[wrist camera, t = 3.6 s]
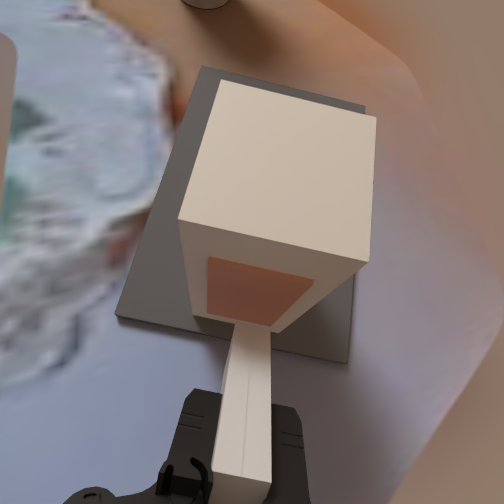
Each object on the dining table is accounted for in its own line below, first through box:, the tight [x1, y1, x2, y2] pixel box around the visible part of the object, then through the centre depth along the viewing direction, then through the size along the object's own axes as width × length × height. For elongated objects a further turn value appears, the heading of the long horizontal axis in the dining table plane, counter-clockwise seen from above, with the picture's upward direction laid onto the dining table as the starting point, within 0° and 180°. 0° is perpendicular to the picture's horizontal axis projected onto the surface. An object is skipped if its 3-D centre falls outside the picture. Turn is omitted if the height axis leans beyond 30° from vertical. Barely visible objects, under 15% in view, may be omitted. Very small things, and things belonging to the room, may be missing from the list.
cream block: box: [178, 79, 376, 333], centre depth 18 cm, size 6×6×14 cm
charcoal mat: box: [114, 66, 365, 364], centre depth 28 cm, size 24×16×1 cm, turn 169°
